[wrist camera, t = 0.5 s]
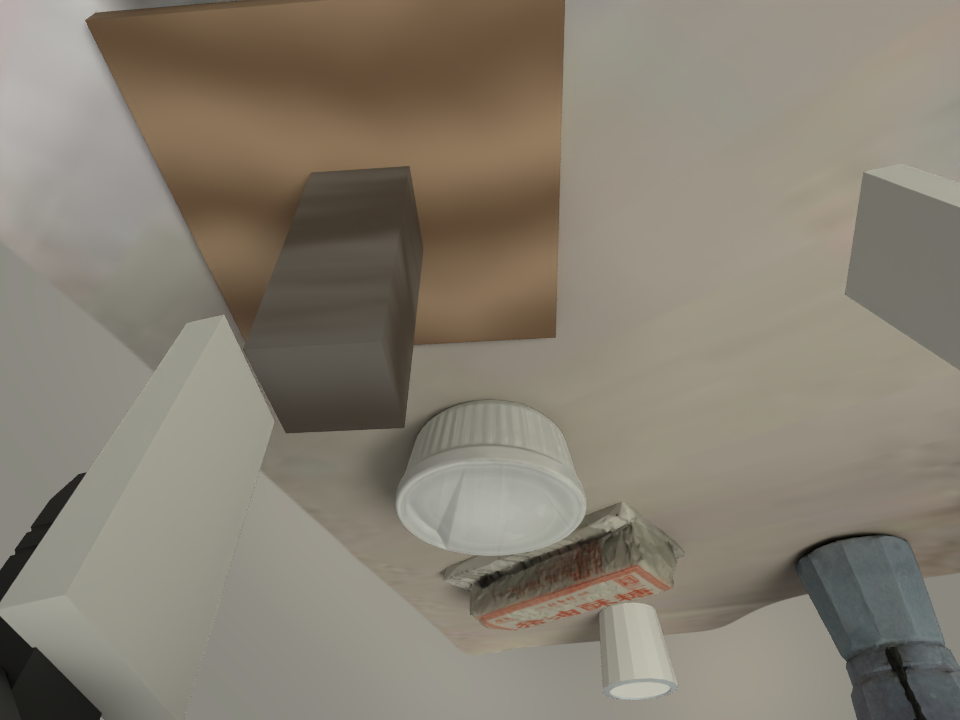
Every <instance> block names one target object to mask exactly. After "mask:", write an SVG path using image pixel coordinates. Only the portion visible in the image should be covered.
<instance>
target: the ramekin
mask: <svg viewBox="0 0 960 720" xmlns="http://www.w3.org/2000/svg"><path fill="white" fill-rule="evenodd" d="M395 508H396V513H397V515H398V518H399V520H400V521H401V523H402V524H403V525H404V526H405V527H406V528H407V529H408V530H409V531H410V532H411V533H412V534H413V535H415V536H416V537H418V538H419V539H421V540H423V541H425V542H427V543H429V544H431V545H434V546H436V547H439V548H442V549H445V550H449V551H453V552H458V553H463V554H470V555H482V556H498V555H499V556H502V555H512V554H518V553H524V552H530V551H534V550H537V549H541V548H544V547H547V546H549V545H552V544H554V543H556V542H558V541H560V540H562V539H564V538H565V537H567V536H568V535H570V534H571V533H572V532H573V531H574V530H575V529H576V528H577V527H578V526H579V525H580V523H581V522H582V520H583V518H584V516H585V513H586V498H585V492H584V488H583V486H582V484H581V482H580V480H579V479H578V477H577V476H576V472H575V469H574V466H573V463H572V459H571V456H570V453H569V450H568V447H567V444H566V441H565V439H564V436H563V434H562V433H561V432H560V430H559V428H558V427H557V426H556V425H555V424H554V423H553V422H552V421H551V420H549V419H548V418H547V417H545V416H544V415H542V414H541V413H540V412H538V411H536V410H534V409H532V408H530V407H528V406H525V405H522V404H519V403H515V402H510V401H503V400H477V401H472V402H466V403H462V404H459V405H456V406H453V407H451V408H448V409H446V410H444V411H443V412H441V413H439V414H438V415H436V416H435V417H433V418H432V419H431V420H430V421H428V422H427V424H426V425H425V426H424V427H423V428H422V429H421V431H420V433H419V434H418V436H417V438H416V441H415V444H414V447H413V450H412V453H411V456H410V459H409V462H408V465H407V469H406V472H405V474H404V476H403V477H402V479H401V480H400V482H399V485H398V488H397V492H396V499H395Z"/></svg>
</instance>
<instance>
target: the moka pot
mask: <svg viewBox="0 0 960 720" xmlns="http://www.w3.org/2000/svg"><path fill="white" fill-rule="evenodd" d="M795 569H796V571H797V573H798V575H799V577H800V579H801V581H802V583H803V585H804V587H805V589H806V590H807V592H808V594H809V596H810V598H811V600H812V602H813V603H814V605H815V607H816V609H817V611H818V613H819V615H820V617H821V619H822V621H823V623H824V624H825V626H826V628H827V630H828V632H829V633H830V635H831V637H832V639H833V641H834V643H835V645H836V647H837V649H838V651H839V653H840V655H841V656H842V657H843V658H844V659H845V660H846V661H847V663H846V669H847V671H848V674H849V677H850V679H851V682H852V685H853V690H852V694H851V698H852V702H853V706H854V710H855V713H856V717H857V720H960V667H959V666H958V664H957V662H956V660H955V658H954V656H953V654H952V652H951V650H949V649H948V648H946V647H945V642H944V638H943V634H942V632H941V629H940V626H939V624H938V621H937V618H936V615H935V612H934V609H933V606H932V603H931V601H930V597H929V595H928V592H927V589H926V586H925V583H924V580H923V577H922V575H921V572H920V569H919V566H918V563H917V561H916V558H915V555H914V553H913V551H912V548H911V546H910V544H909V542H908V541H907V540H905V539H902V538H899V537H894V536H887V535H881V536H879V535H876V536H864V537H857V538H849V539H844V540H837V541H836V542H832V543H830V544H827V545H824V546H821V547H819V548H817V549H815V550H814V551H812V552H810V553H808V554H807V555H805V556H804V557H802V558H801V559H800V561H799V562H798V563H797V565H796V567H795Z"/></svg>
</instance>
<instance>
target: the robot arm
mask: <svg viewBox="0 0 960 720" xmlns="http://www.w3.org/2000/svg"><path fill="white" fill-rule="evenodd" d="M845 295H847V296H848V297H850V298H851V299H853V300H854V301H856V302H857V303H859V304H860V305H862V306H863V307H865V308H866V309H868V310H869V311H871V312H872V313H874V314H875V315H877V316H878V317H880V318H882V319H883V320H885V321H886V322H888V323H889V324H891V325H892V326H894V327H895V328H897V329H898V330H900V331H901V332H903V333H904V334H906V335H907V336H909V337H910V338H912V339H913V340H915V341H916V342H918V343H919V344H921V345H922V346H924V347H925V348H927V349H928V350H930V351H931V352H933V353H935V354H936V355H938V356H939V357H941V358H942V359H944V360H945V361H947V362H948V363H950V364H951V365H953V366H954V367H956V368H957V369H959V370H960V183H959V182H956V181H953V180H950V179H947V178H944V177H941V176H938V175H935V174H932V173H928V172H925V171H922V170H919V169H916V168H913V167H910V166H907V165H904V164H897V165H892V166H888V167H883V168H879V169H874V170H870V171H865V172H863V178H862V185H861V191H860V198H859V204H858V211H857V218H856V224H855V231H854V237H853V244H852V251H851V257H850V264H849V270H848V277H847V284H846V290H845ZM274 422H275V421H274V419H273V417H272V415H271V413H270V410H269V408H268V406H267V404H266V402H265V400H264V398H263V396H262V393H261V391H260V389H259V387H258V385H257V383H256V381H255V379H254V377H253V374H252V372H251V370H250V368H249V366H248V364H247V362H246V360H245V357H244V355H243V353H242V351H241V349H240V347H239V345H238V343H237V341H236V338H235V336H234V334H233V332H232V330H231V328H230V326H229V324H228V322H227V319H226V317H225V315H220V316H215V317H211V318H207V319H202V320H198V321H193V322H189V323H187V324H186V325H185V327H184V328H183V330H182V331H181V333H180V334H179V336H178V337H177V339H176V340H175V342H174V343H173V345H172V346H171V348H170V349H169V351H168V352H167V354H166V355H165V357H164V358H163V360H162V361H161V363H160V364H159V365H158V367H157V368H156V370H155V371H154V373H153V375H152V376H151V378H150V379H149V381H148V382H147V383H146V385H145V386H144V388H143V389H142V391H141V393H140V394H139V395H138V397H137V399H136V400H135V401H134V403H133V404H132V406H131V408H130V409H129V411H128V412H127V413H126V415H125V416H124V418H123V420H122V421H121V422H120V424H119V426H118V427H117V428H116V430H115V431H114V433H113V434H112V436H111V437H110V439H109V440H108V442H107V443H106V445H105V446H104V448H103V449H102V451H101V452H100V454H99V455H98V457H97V458H96V460H95V461H94V463H93V464H92V466H91V467H90V469H89V470H88V472H86V473H82V474H78V475H77V476H76V477H75V478H74V479H73V480H72V481H71V482H69V483H68V484H67V485H66V486H65V487H64V488H63V489H62V490H60V491H59V492H58V493H57V494H56V495H55V496H54V497H53V498H52V499H51V500H50V501H49V502H48V503H47V505H46V506H45V508H44V509H43V511H42V512H41V513H40V515H39V516H38V518H37V519H36V520H35V522H34V523H33V525H32V526H31V529H32V531H31V532H28V533H26V535H25V536H24V537H23V539H22V540H21V542H20V543H19V545H18V546H17V547H16V549H15V555H12V556H10V557H9V559H8V560H7V561H6V563H5V564H4V566H3V567H2V568H1V570H0V720H100V717H102V718H103V719H104V720H184V718H185V715H186V712H187V709H188V705H189V702H190V698H191V695H192V692H193V689H194V685H195V682H196V679H197V676H198V672H199V669H200V666H201V662H202V659H203V656H204V652H205V649H206V646H207V642H208V639H209V636H210V632H211V629H212V626H213V623H214V620H215V616H216V613H217V610H218V606H219V603H220V600H221V596H222V593H223V590H224V587H225V583H226V580H227V577H228V573H229V570H230V567H231V563H232V560H233V557H234V553H235V550H236V547H237V543H238V540H239V537H240V534H241V531H242V527H243V523H244V520H245V517H246V514H247V511H248V507H249V504H250V501H251V498H252V494H253V491H254V488H255V484H256V481H257V478H258V474H259V471H260V468H261V465H262V461H263V458H264V455H265V451H266V448H267V445H268V441H269V438H270V435H271V432H272V428H273V425H274Z"/></svg>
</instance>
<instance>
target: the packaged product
mask: <svg viewBox="0 0 960 720" xmlns="http://www.w3.org/2000/svg"><path fill="white" fill-rule="evenodd" d="M684 556H685V552H684V551H683V549H682V548H681V547H680V546H679V545H678V544H677V543H676V542H674V541H673V540H672V539H671V538H670V537H668V536H667V535H666V534H665V533H663V532H662V531H661V530H660V529H659V528H657V527H656V526H655V525H653V524H652V523H650V522H649V521H648V520H647V519H646V518H645V517H643V516H642V515H641V514H639V513H638V512H637V511H636V510H634V509H633V508H632V507H630V506H629V505H628V504H627V503H625V502H620V503H617V504H615V505H612V506H610V507H607V508H604V509H602V510H599V511H596V512H594V513H591V514H589V515H586V516H584V518H583V520H582V522H581V523H580V525H579V526H578V527H577V528H576V529H575V530H574V531H573V532H572V533H571V534H570V535H568V536H567V537H565V538H564V539H562V540H560V541H558V542H556V543H554V544H552V545H549V546H547V547H544V548H541V549H537V550H534V551H530V552H524V553H518V554H512V555H502V556H499V555H498V556H482V555H476V556H474V557H471V558H469V559H466V560H464V561H461V562H459V563H456V564H454V565H451V566H449V567H447V568H446V571H445V575H444V581H446V582H448V583H450V584H452V585H455V586H458V587H460V588H462V589H465V590H468V591H471V598H470V615H472V616H473V617H474V618H475V619H477V620H479V622H480V623H481V624H482V625H483V626H485V627H486V628H489V629H506V630H520V629H524V628H528V627H532V626H537V625H542V624H544V623H547V622H551V621H557V620H560V619H563V618H567V617H572V616H575V615H580V614H582V613H585V612H589V611H594V610H598V609H601V608H605V607H609V606H613V605H617V604H620V603H623V602H628V601H632V600H636V599H638V598H644V597H647V596H651V595H654V594H657V593H661V592H663V591H666V590H668V589H670V588H673V585H674V582H673V575H674V572H675V567H676V564H677V560H676V559H677V558H680V557H684Z"/></svg>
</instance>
